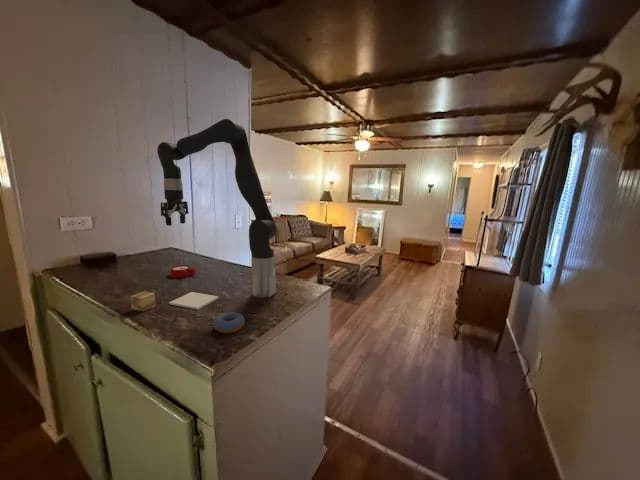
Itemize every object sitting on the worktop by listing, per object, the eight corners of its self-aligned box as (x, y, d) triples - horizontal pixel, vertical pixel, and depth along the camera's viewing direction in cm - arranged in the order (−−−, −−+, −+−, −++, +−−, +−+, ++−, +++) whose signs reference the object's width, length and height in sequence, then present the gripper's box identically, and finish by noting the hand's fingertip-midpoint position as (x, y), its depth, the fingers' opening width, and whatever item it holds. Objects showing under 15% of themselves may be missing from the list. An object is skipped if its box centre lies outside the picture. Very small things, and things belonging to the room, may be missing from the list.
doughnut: (206, 330, 89) (207, 317, 89) (226, 318, 99) (227, 306, 98) (231, 339, 86) (232, 326, 85) (249, 326, 95) (251, 314, 95)
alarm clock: (180, 264, 152) (199, 261, 145) (183, 275, 152) (202, 273, 146) (163, 269, 143) (182, 266, 136) (165, 280, 143) (185, 278, 137)
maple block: (155, 306, 107) (154, 293, 106) (142, 312, 102) (141, 298, 101) (145, 304, 108) (143, 291, 107) (131, 310, 103) (130, 296, 102)
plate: (218, 298, 116) (218, 296, 116) (198, 309, 105) (198, 307, 104) (191, 293, 120) (191, 291, 120) (169, 304, 109) (169, 302, 109)
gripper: (168, 189, 117) (171, 226, 120) (191, 189, 131) (193, 223, 134) (153, 188, 119) (157, 225, 122) (178, 189, 133) (180, 222, 136)
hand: (176, 224), depth 128 cm, fingers open, 8 cm apart
